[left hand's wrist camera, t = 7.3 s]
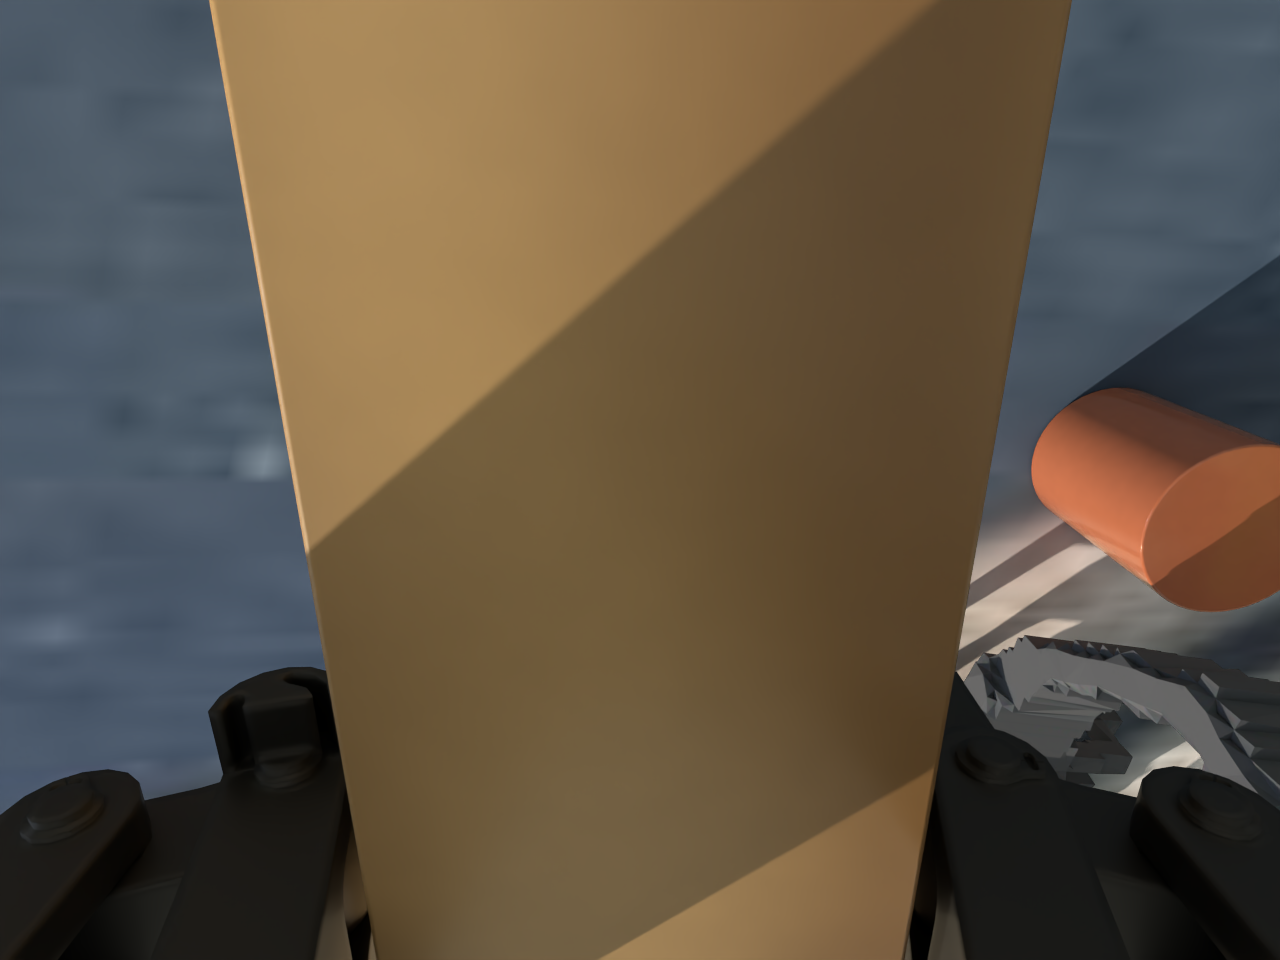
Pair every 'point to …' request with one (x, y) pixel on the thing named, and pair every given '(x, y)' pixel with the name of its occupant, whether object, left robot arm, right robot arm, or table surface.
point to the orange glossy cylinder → (1167, 496)
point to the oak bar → (640, 441)
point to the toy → (1150, 686)
